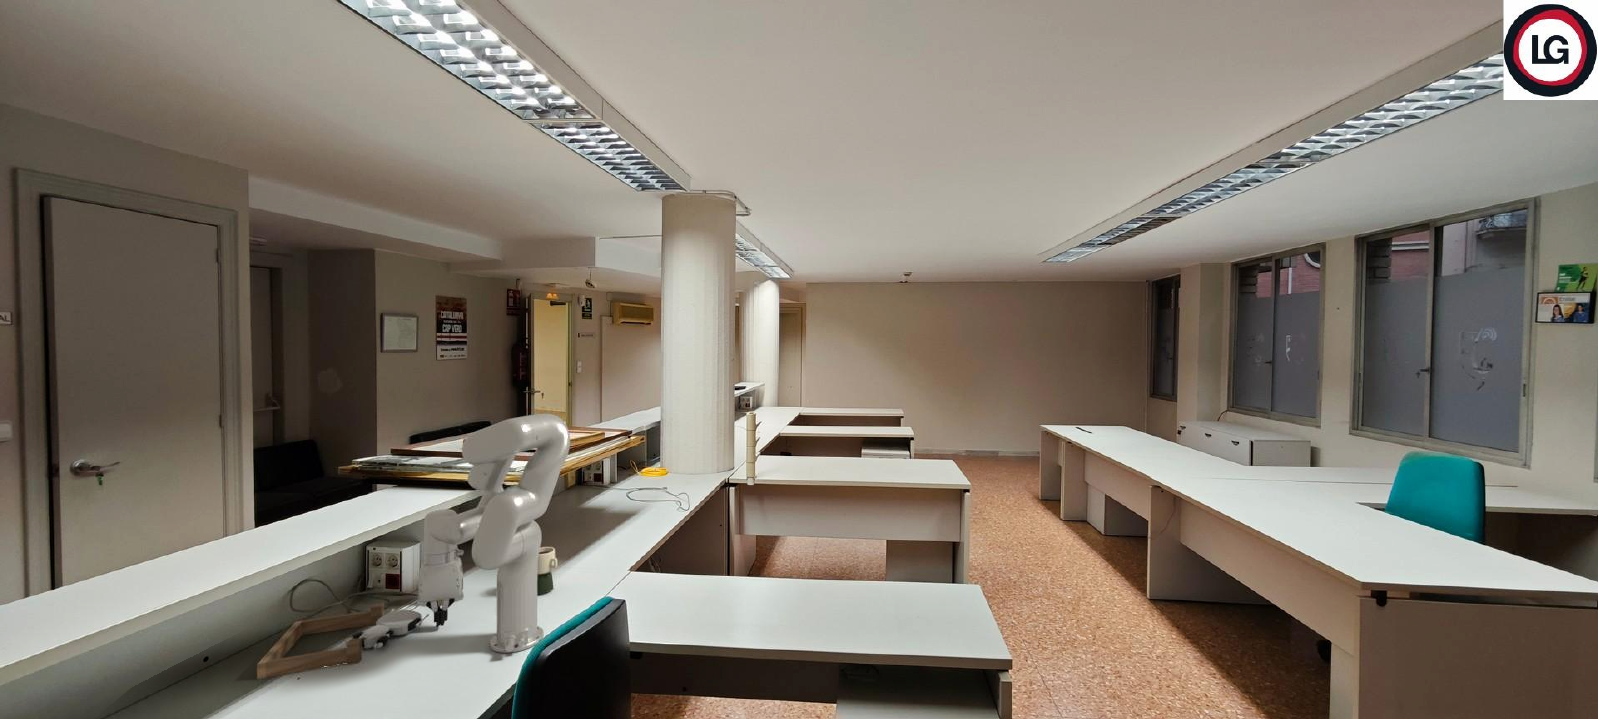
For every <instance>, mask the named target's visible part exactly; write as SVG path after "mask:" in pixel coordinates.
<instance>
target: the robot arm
mask: <svg viewBox="0 0 1598 719" xmlns="http://www.w3.org/2000/svg"><path fill="white" fill-rule="evenodd" d="M570 447H571V436H570V431H569V429H568V426H567V424H566V423H565V422H564V420H563V419H562V418H561V417H559V416H557V415H555V414H553V413H537V414H529V415H523V416H519V417H513V418H508V419H505V420H502V421H500V422H497V423H494V424H492V425H490V426H486V427H484V428H482V429H479V430H476V431H474V432H472V433H470V434H469V435H468V436H467V437H466V438H465V440H464V442H463V443H462V447H461V455H462V457H463V460H464V461H465V462H466V463H467V464H469V465H471V466H472V467H471V469H470V471H469V473H468V474H467V482H468V484H469V485H470V486H471V488H473V489H475V490H477V491H479V492H481V493H482V496H481V499H480V501H479V503H478V504H477V506H476V507H475V508H472V509H469V510H466V511H464V512H461V513H457V512H456V511H455V510H453V509H448V508H447V509H444V508H443V509H438V510H433V511H430V512H428V513H427V514H426V515H425V517H424V523H423V525H424V528H423V531H424V533H423V534H424V535H423V537H424V538H423V539H424V541H423V542H424V543H423V544H424V545H423V548H424V549H423V550H424V551H423V554H424V557H423V560H424V561H423V562H421V565H420V570H419V574H418V575H419V576H418V587H417V603H416V605H417V606H418V607H427V608H428V609H429V610H431V612H432V613H433V623H434V624H436V627H439V626H441V627H442V626H443V627H444V625H445V623H446V621H448V617H449V616H448V615H449V613H448V612H449V610H448V609H449V608H450V607H451V606H452V605H453V604H454V603H456V602H460V601H462V600H463V599H464V597H465V596H464V592H463V589H464V573H463V563H462V560H461V557H459V556H464V550H463V549H459V548H458V545H460V544H463V543H466V542H468V541H470V540H473V542H472V546H471V558H472V560H473V562H474V564H475V566H477V567H478V568H479V569H481V570H484V571H493V570H496V569H497V573H496V633H495V634H494V635H493V636H492V637H491V638H490V640H489V647H490V649H491V650H492V651H494V652H497V653H502V654H504V653H508V654H511V653H517V652H521V651H524V650H527V649H529V648H532V647H533V646H536V645H537V644H538V643H537V641H540V640H541V639H542V640H543V638H544V629H543V628H542V627H540V626H539V625H538V594H537V571H538V556H539V550H540V548H541V545H542V529H541V527H540V524H538V522H536V521H535V520H537V519H538V518H540V517H541V516H543V515H544V514H545V513H546V511H547V509H548V506H549V505H550V502H551V499H552V496H553V494H554V490H555V487H556V485H557V482H558V479H559V476H560V473H561V471H562V469H563V466H564V464H565V462H566V459H567V457H568V455H569V451H570ZM534 449H535V452H534V453H533V455H531V457H530V458H529V460H528V461H527V463H526V464H525V466H524V468H523V471H522V475H521V477H520V479H519V481H518V483H517V484H516V485H515V486H513V487H511V488H508V489H504V487H503V483H504V481H505V480H506V478H507V475H508V473H509V470H510V468H511V467H512V464H513V463H514V460H515V458H516V456H517V454H518V453H522V452H527V451H530V450H534ZM438 600H444V603H443V605H442V606H439V602H438ZM542 640H541V641H542ZM541 641H540V642H541ZM536 643H537V644H536Z"/></svg>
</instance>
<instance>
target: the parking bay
mask: <svg viewBox="0 0 1598 719" xmlns="http://www.w3.org/2000/svg"><path fill="white" fill-rule="evenodd" d="M384 615H385V602H378V603H373V604H372V605H371V607H370V610H366V611H361V612H360V611H359V612H353V613H346V614H345V613H344V614H339V615H332V616H326V617H319V618H312V619H305V620H299V621H295V622H293V624H292V625H291V626H290V627H289V628H288V629H287V630H286V632H285V633H284V634H283V635H282V636H281V637H280V639H278V641H277V642H275V644H274V645H273V646H272V647H271V648H270V649H269V651H268V652H267V653H266V654H265V655H264V656H263V657H262V658H261V659H260V661H258V663H257V664H256V680H262V679H267V678H273V677H279V676H285V675H289V674H296V673H301V672H306V671H305V670H308V671H314V670H318V669H317V668H319V669H322V668H321V667H324V666H331V667H334V666H333V665H337V664H342V665H344V664H343V663H347V664H350V665H354V664H353V663H356V664H359V663H360V662H359V661H361V660H362V658H363V654H362V653H363V652H362V649H363V648H362V638H357V639H351V640H349V641H348V643H345V646H346V647H341V648H336V649H330V650H324V651H317V652H312V653H305V654H300V655H294V656H287V657H285V655H287V653H288V652H289V651H290V650H291V648H292V647H293V646H294V645H295V644H296V642H297V641H298V640H299V639H300V638H301V637H302V636H308V635H313V634H319V633H320V634H321V633H326V632H334V631H341V630H345V629H352V628H359V627H364V626H365V627H366V626H371V627H374V626H376V622H377V620H378V619H379V618H381V617H382V616H384ZM358 662H359V663H358ZM347 664H346V665H347ZM337 666H338V665H337ZM313 669H314V670H313Z"/></svg>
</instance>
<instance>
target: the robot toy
mask: <svg viewBox="0 0 1598 719" xmlns="http://www.w3.org/2000/svg"><path fill="white" fill-rule="evenodd" d="M422 616H423V615H422V613H420V612H419V611H415V610H413V609H396V610H395V608H392V609H391V610H390V611H389V612H388V613H386V614H384V616H382V617H381V618H379V619H378V620H377V622H376V625H373V626H371V627H370V628H368V629H366V630H364V631H360V632H359V631H358V632H356V633H354V634H352V637H348V638H346V639H345V640H344V643H345V644H347V643H348V641H349V640H351V639H357V638H362V649H363V648H364V649H366V650H367V649H370V648H374V649H380V648H382V647H385V645H387V644H388V641H389V638H391V637H392V636H402V635H407V634H411V632H413V631H414V630H415V629H417V628H419V627H420V626H421V625H422V623H423V621H425V620H426V619H427V618H428V617H429V616H430V613H428V614H426V615H425V617H422Z"/></svg>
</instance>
